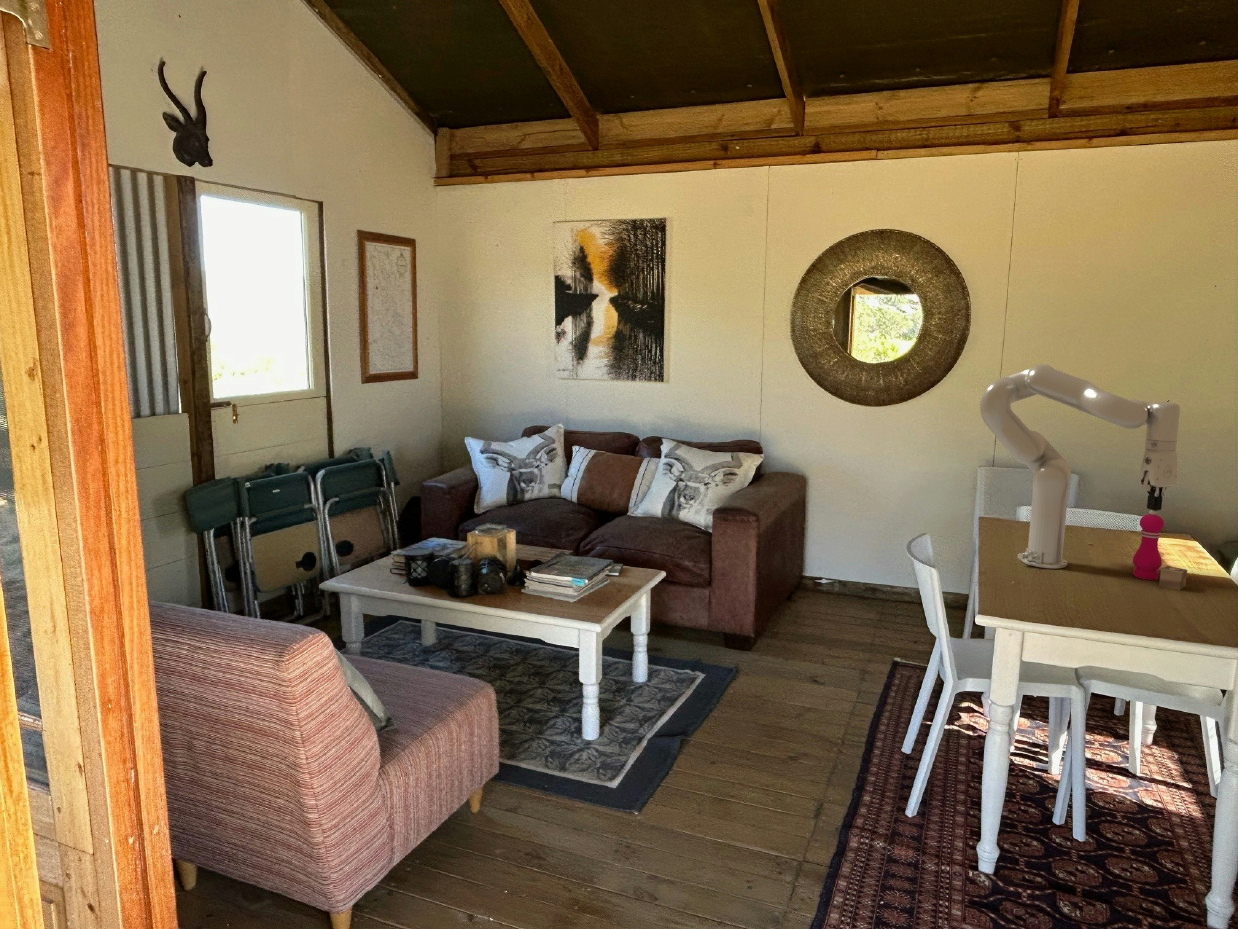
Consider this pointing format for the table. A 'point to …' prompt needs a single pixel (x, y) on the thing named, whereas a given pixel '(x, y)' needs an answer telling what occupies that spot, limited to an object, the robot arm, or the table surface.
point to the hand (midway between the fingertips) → (1153, 509)
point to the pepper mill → (1149, 547)
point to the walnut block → (1173, 577)
